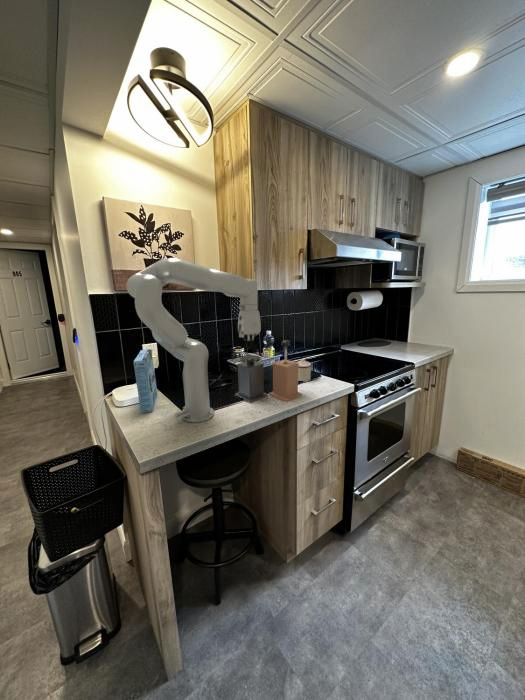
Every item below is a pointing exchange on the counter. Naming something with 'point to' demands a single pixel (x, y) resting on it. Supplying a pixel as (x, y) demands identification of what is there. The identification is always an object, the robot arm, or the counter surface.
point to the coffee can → (244, 358)
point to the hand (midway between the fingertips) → (249, 348)
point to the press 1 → (251, 381)
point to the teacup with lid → (304, 371)
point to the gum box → (145, 380)
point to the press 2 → (285, 381)
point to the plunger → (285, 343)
